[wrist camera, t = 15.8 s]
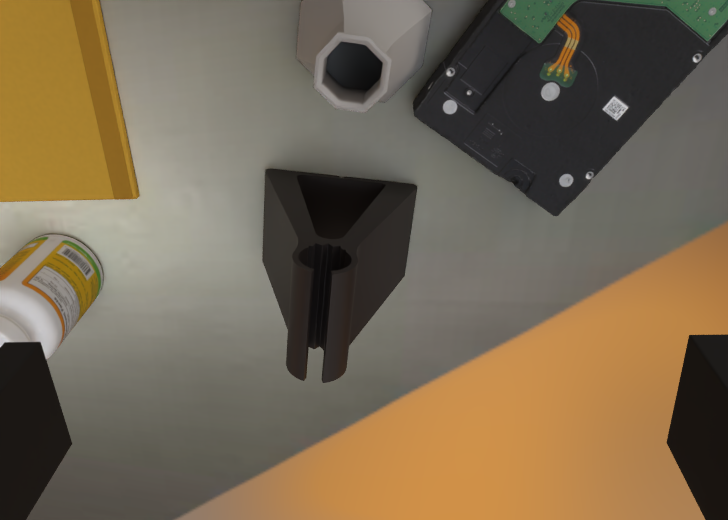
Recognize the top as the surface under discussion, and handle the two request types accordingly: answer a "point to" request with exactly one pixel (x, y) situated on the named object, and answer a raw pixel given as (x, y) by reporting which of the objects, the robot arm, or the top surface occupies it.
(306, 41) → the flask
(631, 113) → the disk drive
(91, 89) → the yellow tray
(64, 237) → the supplement bottle
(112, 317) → the top surface
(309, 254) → the phone stand
